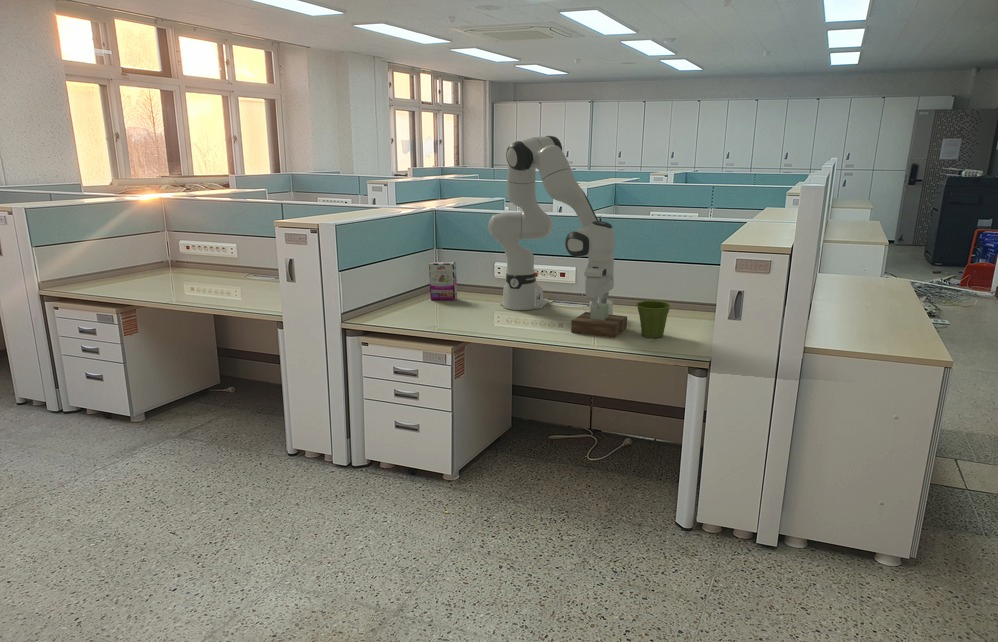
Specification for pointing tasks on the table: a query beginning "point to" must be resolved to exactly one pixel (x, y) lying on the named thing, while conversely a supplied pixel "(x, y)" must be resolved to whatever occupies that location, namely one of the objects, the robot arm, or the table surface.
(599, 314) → the sage cube
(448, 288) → the candy bar box
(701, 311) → the table surface
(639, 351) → the table surface
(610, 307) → the base with upright slab
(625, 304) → the table surface
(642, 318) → the plant pot
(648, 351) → the table surface
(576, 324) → the walnut block
